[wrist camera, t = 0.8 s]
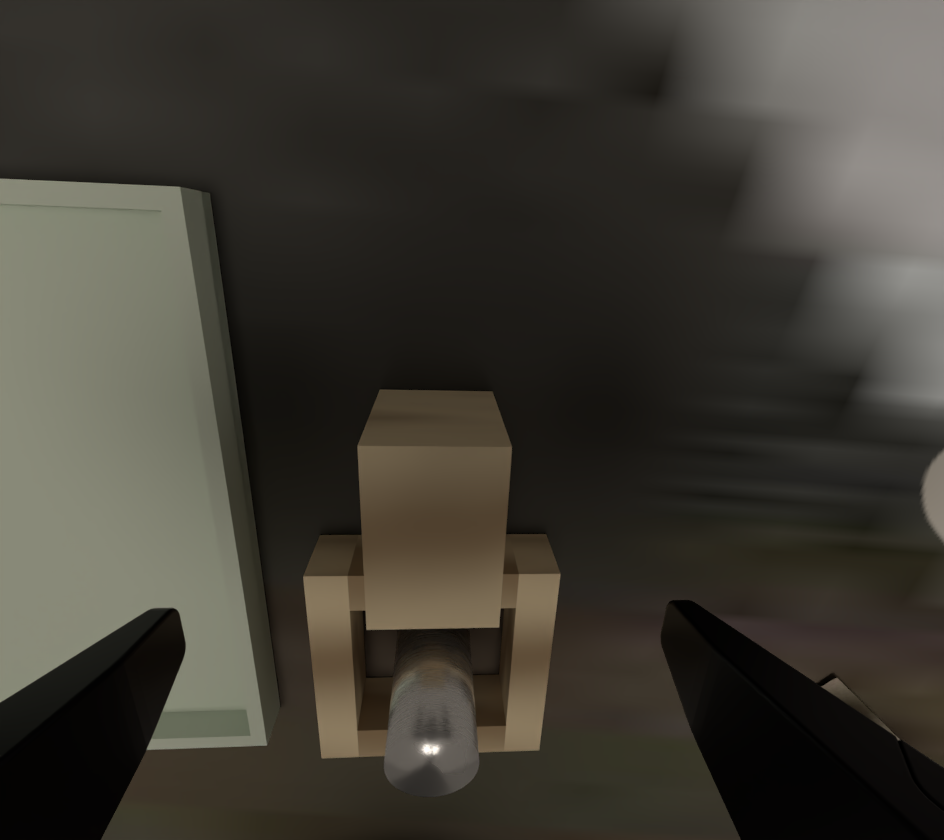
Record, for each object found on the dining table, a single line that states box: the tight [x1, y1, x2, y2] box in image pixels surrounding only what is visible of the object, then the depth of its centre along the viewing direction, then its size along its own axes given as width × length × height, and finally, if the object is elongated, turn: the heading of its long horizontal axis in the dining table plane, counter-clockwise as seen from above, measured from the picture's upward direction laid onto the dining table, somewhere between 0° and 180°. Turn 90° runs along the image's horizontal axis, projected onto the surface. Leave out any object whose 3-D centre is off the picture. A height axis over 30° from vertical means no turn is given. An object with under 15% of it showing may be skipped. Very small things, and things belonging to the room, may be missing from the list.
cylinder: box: [384, 628, 479, 797], centre depth 18 cm, size 3×3×6 cm
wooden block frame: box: [303, 389, 560, 758], centre depth 17 cm, size 15×9×5 cm, turn 178°
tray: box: [0, 179, 280, 750], centre depth 17 cm, size 21×14×2 cm
